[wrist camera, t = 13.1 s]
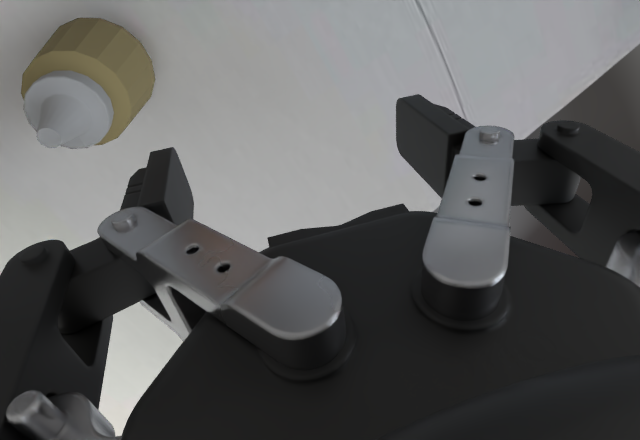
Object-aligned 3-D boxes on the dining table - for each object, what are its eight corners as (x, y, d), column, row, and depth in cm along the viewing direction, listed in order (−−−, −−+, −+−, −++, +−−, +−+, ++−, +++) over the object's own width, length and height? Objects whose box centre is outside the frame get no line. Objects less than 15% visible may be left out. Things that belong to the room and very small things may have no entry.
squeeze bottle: (54, 0, 32) (-66, 43, 18) (159, 22, 35) (129, 76, 20) (64, 96, 36) (-26, 195, 22) (158, 110, 39) (131, 206, 25)
